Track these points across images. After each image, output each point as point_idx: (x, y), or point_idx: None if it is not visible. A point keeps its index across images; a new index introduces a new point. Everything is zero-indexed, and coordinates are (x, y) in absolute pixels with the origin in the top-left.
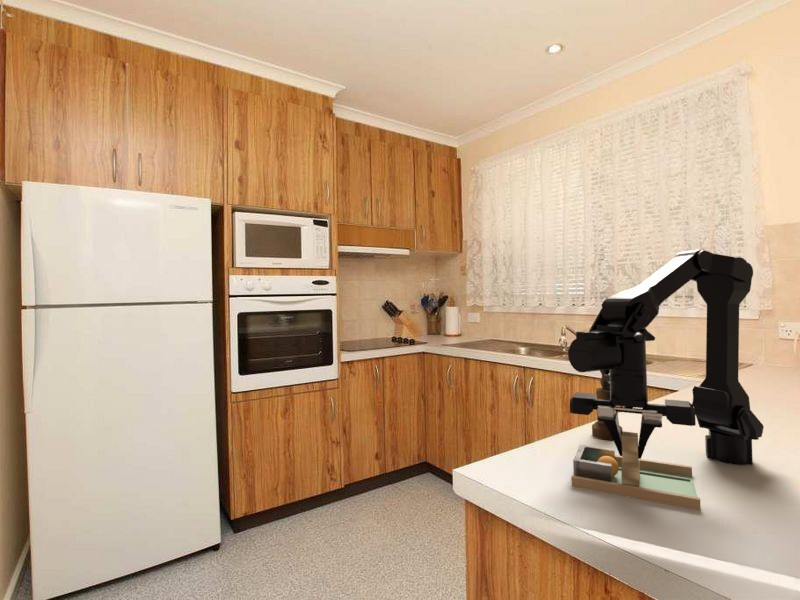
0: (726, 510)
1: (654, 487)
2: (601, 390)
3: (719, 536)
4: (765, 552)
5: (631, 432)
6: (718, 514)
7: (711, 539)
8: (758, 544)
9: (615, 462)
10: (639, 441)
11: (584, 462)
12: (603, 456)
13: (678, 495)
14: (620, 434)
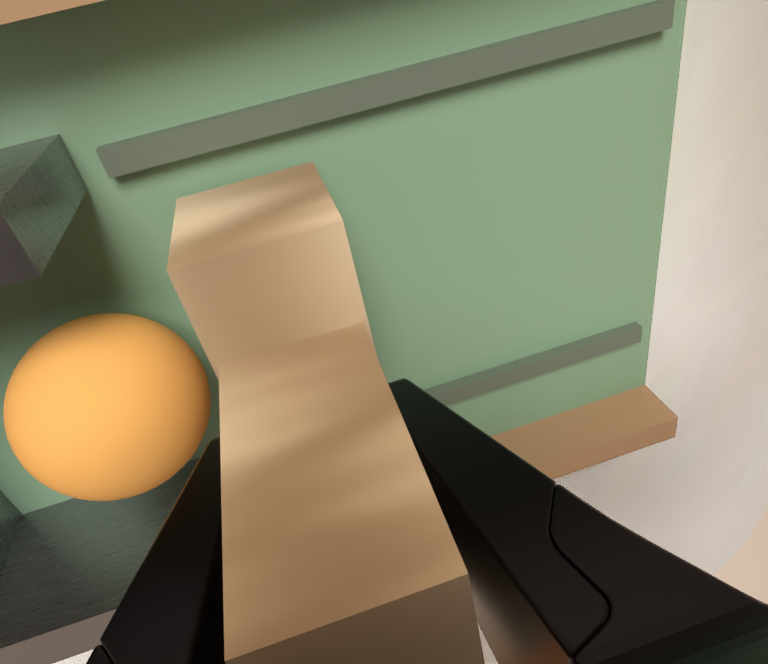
0: (741, 245)
1: (444, 315)
2: None
3: (653, 467)
4: (750, 460)
5: (376, 616)
6: (695, 312)
7: (626, 498)
8: (750, 432)
9: (189, 437)
10: (496, 654)
11: (44, 660)
12: (61, 478)
13: (589, 462)
14: (216, 652)
